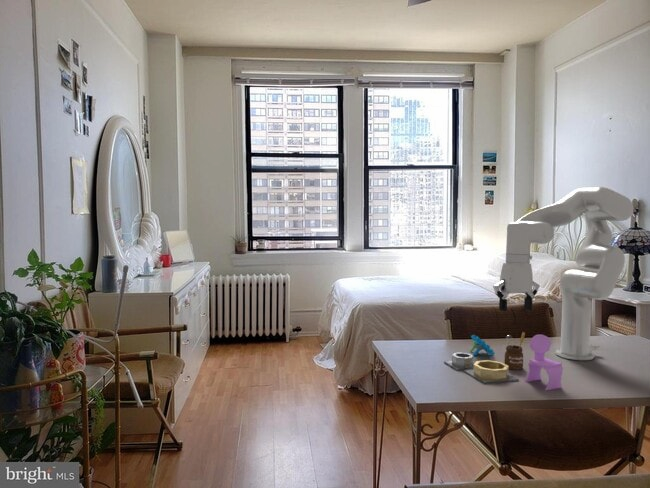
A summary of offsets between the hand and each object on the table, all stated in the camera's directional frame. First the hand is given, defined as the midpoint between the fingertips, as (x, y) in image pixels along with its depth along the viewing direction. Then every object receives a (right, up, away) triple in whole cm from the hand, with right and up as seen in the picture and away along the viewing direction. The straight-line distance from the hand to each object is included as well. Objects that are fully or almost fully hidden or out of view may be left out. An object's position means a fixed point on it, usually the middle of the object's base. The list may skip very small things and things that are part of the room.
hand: (515, 310), depth 173 cm
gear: (-6, -19, +16) cm, 26 cm away
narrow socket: (-17, -19, +3) cm, 26 cm away
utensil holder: (0, -20, +2) cm, 20 cm away
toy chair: (+3, -21, -15) cm, 26 cm away
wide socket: (-11, -20, -8) cm, 24 cm away
